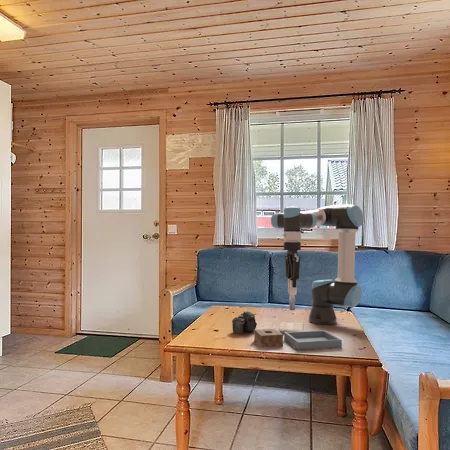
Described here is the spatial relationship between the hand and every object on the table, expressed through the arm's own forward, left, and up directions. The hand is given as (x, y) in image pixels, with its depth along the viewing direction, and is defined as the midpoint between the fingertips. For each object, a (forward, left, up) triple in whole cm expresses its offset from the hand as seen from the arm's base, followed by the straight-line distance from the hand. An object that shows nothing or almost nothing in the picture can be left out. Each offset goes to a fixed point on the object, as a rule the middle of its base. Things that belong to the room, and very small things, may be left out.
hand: (292, 293), depth 165 cm
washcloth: (-9, -22, -23) cm, 33 cm away
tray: (-9, +2, -22) cm, 24 cm away
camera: (+15, -22, -22) cm, 35 cm away
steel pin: (0, 0, -7) cm, 7 cm away
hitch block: (+10, -2, -22) cm, 24 cm away
